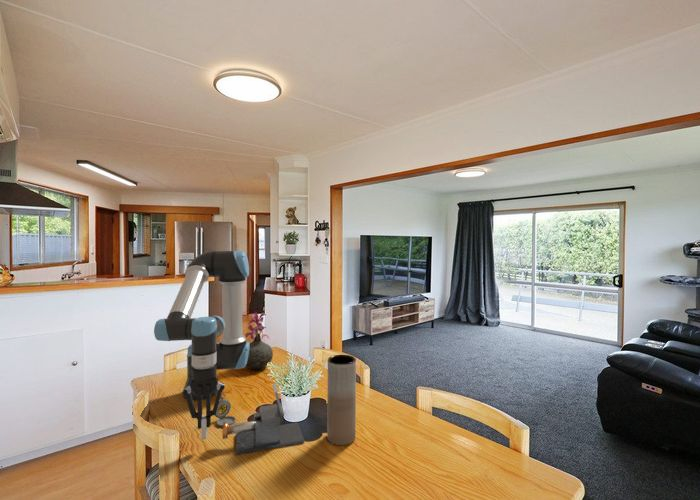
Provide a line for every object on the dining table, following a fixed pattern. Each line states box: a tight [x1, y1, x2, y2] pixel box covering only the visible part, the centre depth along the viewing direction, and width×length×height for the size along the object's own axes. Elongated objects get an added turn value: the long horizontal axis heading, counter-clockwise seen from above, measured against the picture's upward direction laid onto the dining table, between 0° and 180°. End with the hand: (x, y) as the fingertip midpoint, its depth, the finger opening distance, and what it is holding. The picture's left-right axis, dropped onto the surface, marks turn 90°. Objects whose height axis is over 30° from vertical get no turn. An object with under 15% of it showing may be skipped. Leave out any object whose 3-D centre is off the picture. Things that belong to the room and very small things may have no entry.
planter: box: [326, 354, 357, 446], centre depth 119 cm, size 10×10×28 cm
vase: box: [244, 312, 274, 371], centre depth 186 cm, size 17×18×30 cm
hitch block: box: [235, 403, 305, 456], centre depth 118 cm, size 12×22×10 cm, turn 109°
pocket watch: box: [214, 392, 236, 428], centre depth 129 cm, size 8×8×10 cm
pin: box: [222, 420, 261, 440], centre depth 115 cm, size 5×15×5 cm, turn 109°
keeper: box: [272, 383, 285, 418], centre depth 118 cm, size 8×1×9 cm, turn 19°
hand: (204, 436), depth 111 cm, fingers closed
